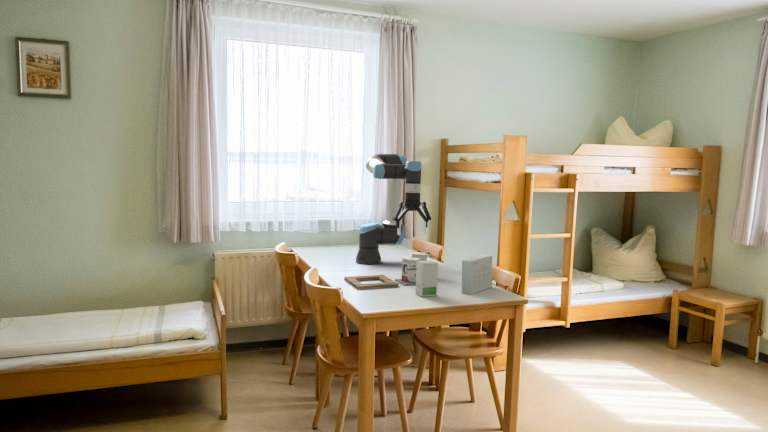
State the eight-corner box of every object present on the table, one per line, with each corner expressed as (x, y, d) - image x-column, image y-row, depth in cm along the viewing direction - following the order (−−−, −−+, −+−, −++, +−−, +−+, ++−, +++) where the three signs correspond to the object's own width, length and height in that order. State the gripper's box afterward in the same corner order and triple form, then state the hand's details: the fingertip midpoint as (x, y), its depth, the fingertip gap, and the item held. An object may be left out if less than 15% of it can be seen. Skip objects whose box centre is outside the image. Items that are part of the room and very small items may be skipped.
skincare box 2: (482, 285, 269) (483, 254, 268) (492, 287, 266) (493, 255, 264) (460, 292, 253) (461, 259, 251) (470, 295, 250) (471, 261, 248)
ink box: (400, 281, 271) (401, 258, 270) (404, 279, 276) (404, 256, 275) (417, 282, 268) (418, 259, 267) (420, 281, 273) (420, 258, 271)
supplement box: (425, 278, 281) (425, 254, 280) (411, 277, 283) (411, 253, 281) (426, 275, 289) (427, 252, 287) (413, 274, 290) (413, 251, 289)
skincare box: (421, 297, 243) (422, 263, 241) (414, 293, 249) (415, 260, 247) (437, 295, 246) (438, 262, 245) (430, 292, 252) (431, 259, 251)
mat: (394, 280, 275) (394, 279, 275) (416, 279, 280) (416, 277, 280) (403, 285, 264) (403, 284, 264) (425, 284, 268) (425, 283, 268)
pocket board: (344, 279, 274) (344, 277, 273) (383, 277, 281) (383, 274, 281) (357, 289, 254) (357, 286, 254) (398, 286, 262) (398, 283, 261)
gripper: (392, 192, 259) (391, 236, 261) (438, 192, 268) (437, 234, 270) (386, 191, 266) (385, 234, 268) (432, 191, 275) (430, 232, 277)
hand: (411, 234), depth 269 cm, fingers open, 13 cm apart
